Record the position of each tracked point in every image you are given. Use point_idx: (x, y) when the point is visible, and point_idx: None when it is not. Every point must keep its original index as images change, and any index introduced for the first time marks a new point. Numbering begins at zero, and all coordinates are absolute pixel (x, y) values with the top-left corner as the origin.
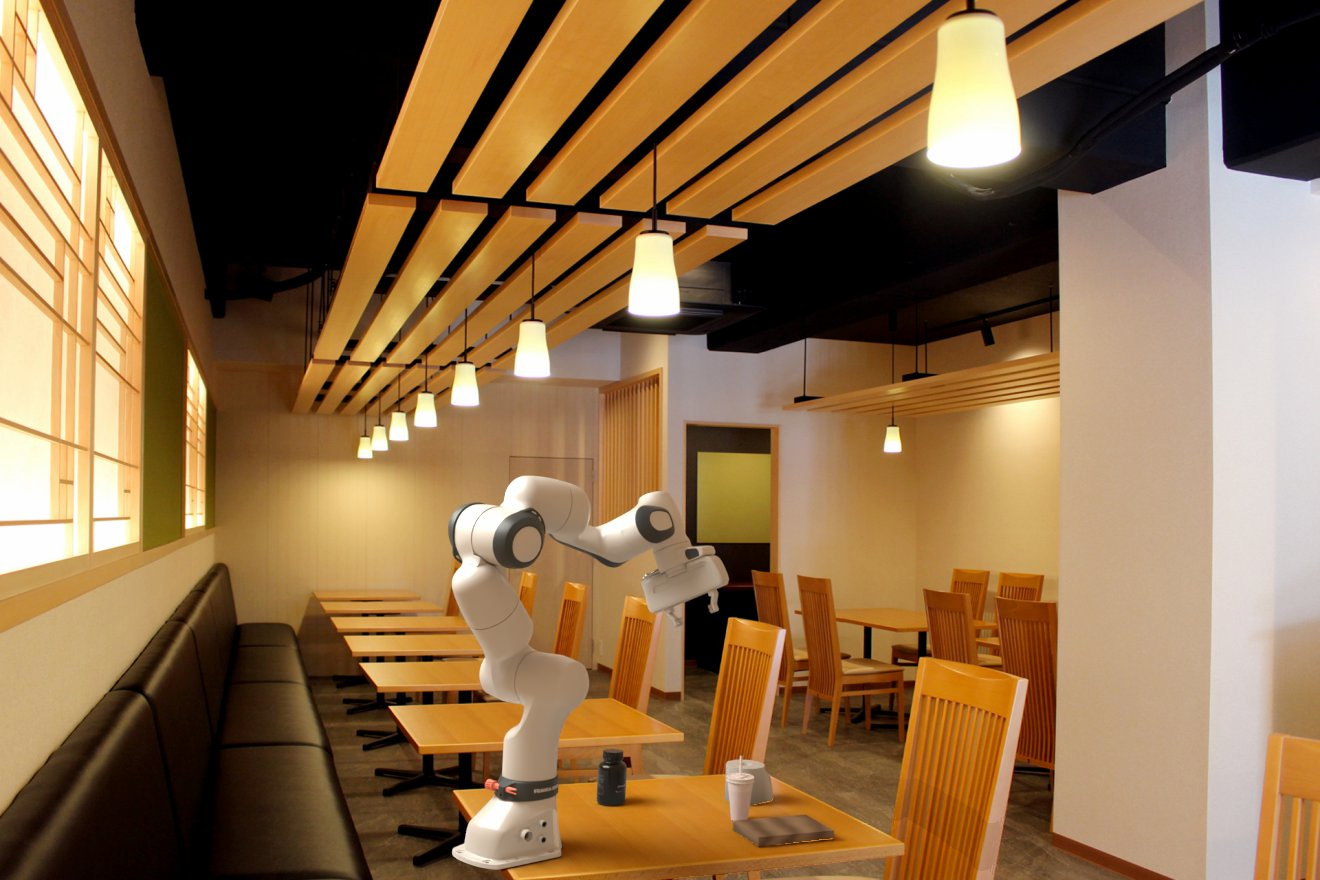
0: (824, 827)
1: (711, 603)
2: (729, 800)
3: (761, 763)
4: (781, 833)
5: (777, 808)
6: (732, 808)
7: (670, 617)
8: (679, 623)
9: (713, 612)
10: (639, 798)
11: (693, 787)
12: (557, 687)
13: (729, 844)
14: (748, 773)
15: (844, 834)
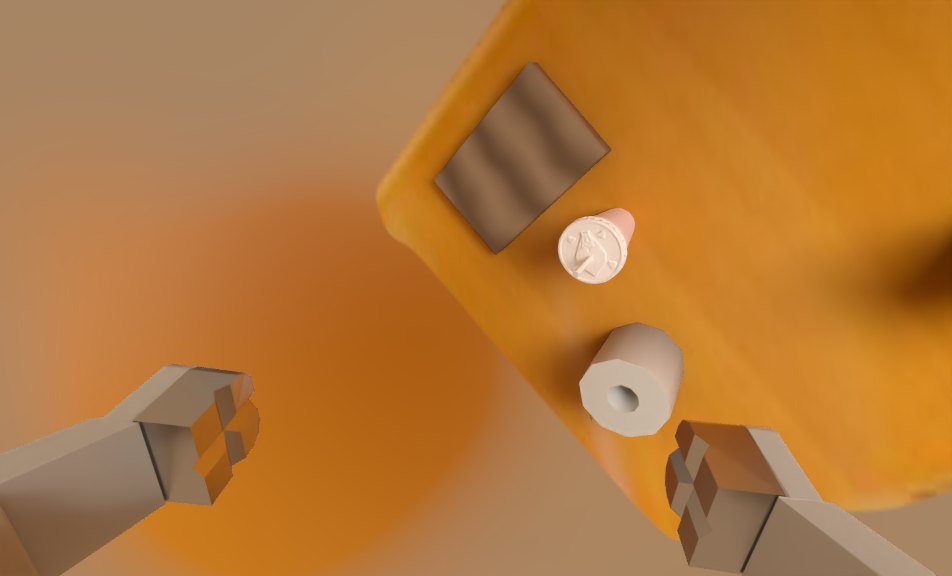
0: (449, 190)
1: (117, 421)
2: (627, 227)
3: (591, 411)
4: (499, 114)
5: (569, 325)
6: (621, 214)
7: (873, 543)
8: (695, 426)
9: (248, 410)
10: (922, 311)
11: (779, 431)
12: None
13: (592, 46)
14: (607, 356)
15: (438, 216)
